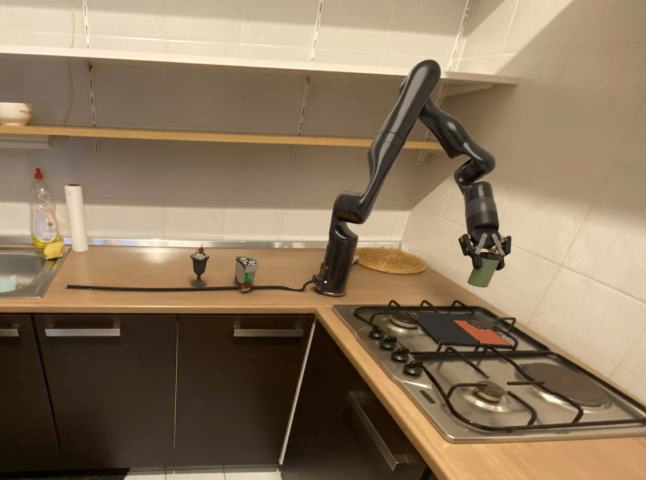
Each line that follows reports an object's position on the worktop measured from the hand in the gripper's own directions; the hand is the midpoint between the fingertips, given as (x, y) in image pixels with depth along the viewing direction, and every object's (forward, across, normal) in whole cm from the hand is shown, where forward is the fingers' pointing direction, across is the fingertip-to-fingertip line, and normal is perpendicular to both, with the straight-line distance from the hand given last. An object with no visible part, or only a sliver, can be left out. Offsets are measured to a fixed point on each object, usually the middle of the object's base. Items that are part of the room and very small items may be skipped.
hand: (489, 268), depth 109 cm
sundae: (-2, +83, -27) cm, 87 cm away
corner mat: (+16, +6, -8) cm, 19 cm away
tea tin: (+3, 0, -5) cm, 6 cm away
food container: (-1, +66, -26) cm, 71 cm away
